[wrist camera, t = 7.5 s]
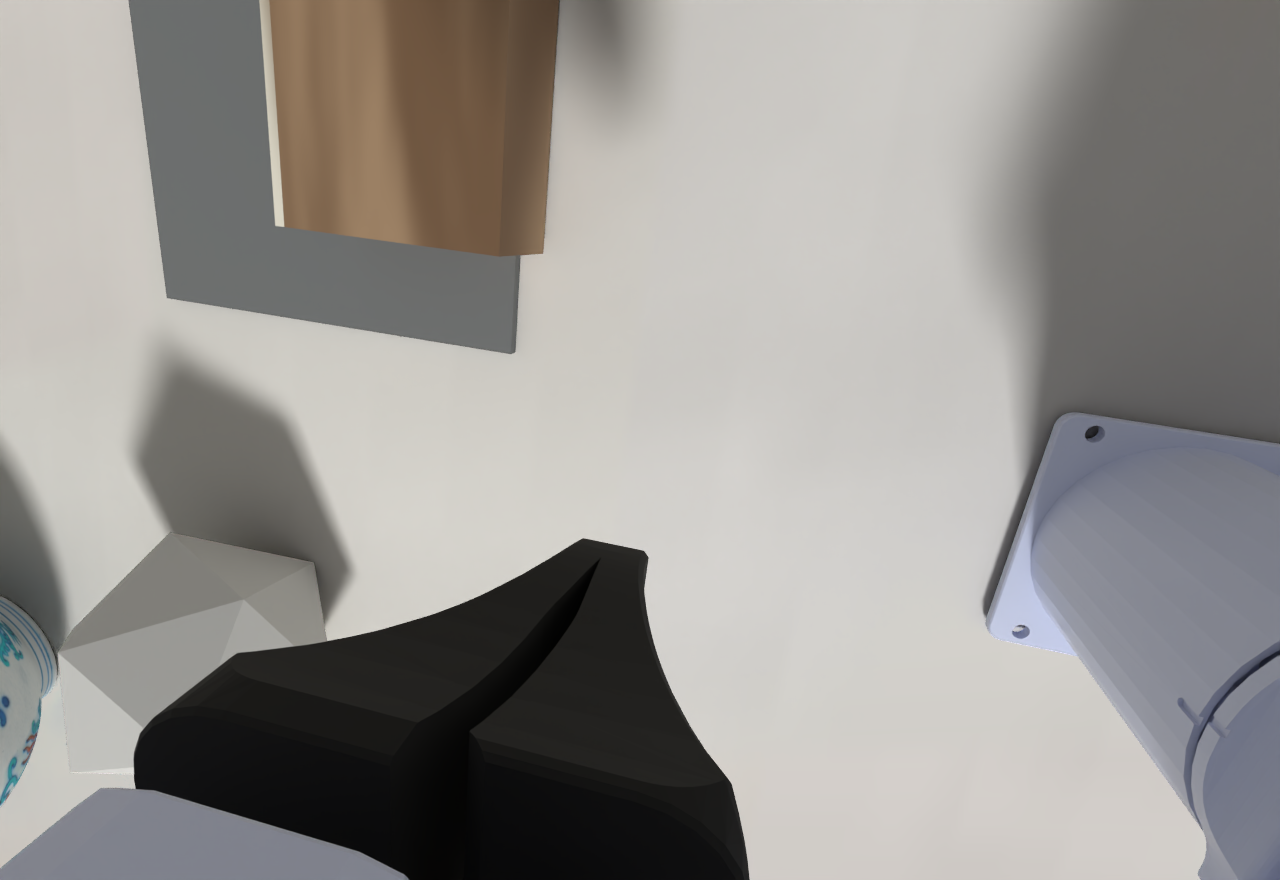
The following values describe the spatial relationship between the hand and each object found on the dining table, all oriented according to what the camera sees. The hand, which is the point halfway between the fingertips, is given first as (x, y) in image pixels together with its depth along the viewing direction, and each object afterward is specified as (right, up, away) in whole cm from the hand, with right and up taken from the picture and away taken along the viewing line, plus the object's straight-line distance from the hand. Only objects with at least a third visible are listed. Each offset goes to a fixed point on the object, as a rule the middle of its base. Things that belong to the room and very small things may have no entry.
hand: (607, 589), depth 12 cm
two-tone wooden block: (-2, +13, +5) cm, 14 cm away
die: (-15, -4, +16) cm, 23 cm away
